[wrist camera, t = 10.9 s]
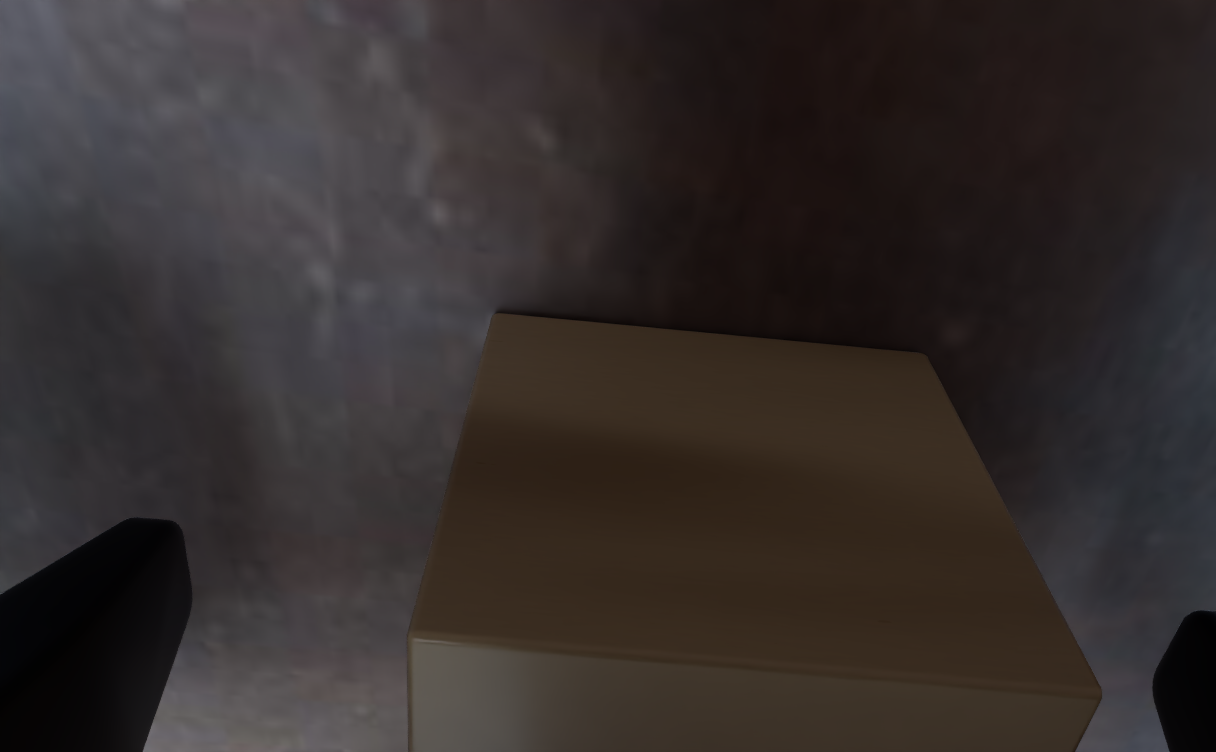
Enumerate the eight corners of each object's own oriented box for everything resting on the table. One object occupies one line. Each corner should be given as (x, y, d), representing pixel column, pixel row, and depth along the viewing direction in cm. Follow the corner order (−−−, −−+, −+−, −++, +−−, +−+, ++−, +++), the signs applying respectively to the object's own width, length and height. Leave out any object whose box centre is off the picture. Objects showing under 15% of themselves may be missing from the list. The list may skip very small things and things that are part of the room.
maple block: (834, 659, 11) (926, 1050, 8) (479, 629, 11) (409, 1013, 8) (927, 350, 9) (1109, 694, 6) (492, 309, 9) (404, 636, 5)
